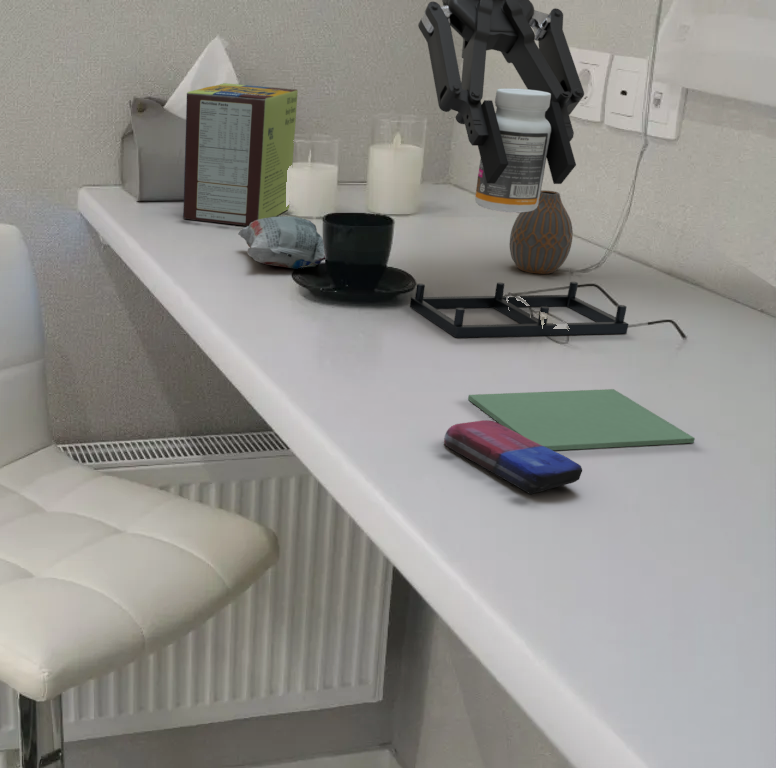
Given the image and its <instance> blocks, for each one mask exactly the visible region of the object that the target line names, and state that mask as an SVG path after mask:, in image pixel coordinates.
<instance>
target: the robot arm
mask: <svg viewBox="0 0 776 768" xmlns="http://www.w3.org/2000/svg"><path fill="white" fill-rule="evenodd" d="M441 1H442V6H441V5H440V3H438V2H437V1H430V2H429V3H428V4H427V6H426V8H425V10H424V12H423V14H422V16H421V18H420V19H419V22H418V25H417V27H418V29H419V31H420V32H421V34H422V36H423V37H424V39H425V41H426V43H427V48H428V54H429V60H430V65H431V70H432V71H431V72H432V75H433V82H434V87H435V93H436V98H437V103H438V107H439V110H440V111H442V112H444V113H449V112H450V111H454V112H457V113H456V114H455V120H456V122H457V123H458V124H460V125H464V126H465V131H466V134H467V139H468V142H469V143H470V144H471V146H477V148H478V152H479V156H480V160H481V161H482V165H483V169H484V173H485V177H486V181H487V183H495V182H496V181H497V180H498V178H499V177H500V175H501V174H502V172H503V171H504V170H505V168H506V167H507V165H508V161H507V157H506V153H505V149H504V145H503V141H502V137H501V133H500V129H499V125H498V121H497V117H496V110H495V106H494V102H493V100H489V99H488V100H487V99H484V100H483V102H482V99H483V97H484V85H485V84H484V83H485V72H486V58H487V51H491V50H493V51H497V52H500V53H501V54H502V56H503V58H504V59H505V62H506V63H507V64H512V66H513V67H514V69H515V71H516V72H517V74H518V75H519V77H520V79H521V80H522V82H523V84H524V86H525V88H526V89H528V90H537V91H543V92H548V93H550V94H551V99H550V106H549V108H548V109H547V111H545V118H546V120H548V122H549V123H550V126H551V135H550V141H549V147H548V152H547V158H546V161H547V164H548V168H549V172H550V176H551V180H552V183H553V185H562V184H563V182H564V181H565V180H566V179H567V178H568V176H569V175H570V174H571V172H572V171H573V170H574V168H576V167H577V163H576V160H575V156H574V152H573V149H572V144H571V141H572V140H573V138H574V134H575V131H574V129H573V124H572V120H571V118H570V115H571V114H572V112H573V111H574V110H575V109H576V107H577V106H578V104H579V103H580V102H581V101H582V99H583V98H584V96H585V91H584V88H583V85H582V82H581V79H580V76H579V73H578V71H577V68H576V65H575V61H574V59H573V56H572V53H571V49H570V47H569V45H568V44H569V43H568V41H567V38H566V36H565V35H566V34H565V32H564V29H563V27H564V12H563V11H562V10H561V9H559V8H557V7H556V8H552V9H551V10H550V11H549V14H548V13H545V12H542V11H538V10H535V7H534V4H533V3H532V2H531V0H441ZM452 29H453V30H454V31H455V32H456V33H457V34H458V35H459V36H461V38H462V49H461V59H462V71H461V74H460V69H459V64H458V59H457V53H456V48H455V42H454V37H453V31H452ZM536 41H537V42H538V45H537V43H536Z"/></svg>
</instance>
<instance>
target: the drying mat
mask: <svg viewBox="0 0 776 768" xmlns="http://www.w3.org/2000/svg"><path fill="white" fill-rule="evenodd" d="M467 396H468V397H467V400H468V401H470V402H471V403H472V404H473V405H475V406H476V407H478V409H480V410H481V411H482V412H483V413H485V414H486V415H487V416H488V417H490V418H492V419H493V421H495V422H497V423H499V424H501V425H503V426H505V427H507V428H509V429H510V430H512V431H514V432H516V433H518V434H520V435H522V436H524V437H526V438H528V439H530V440H532V441H534V442H536V443H538V444H540V445H542V446H544V447H547V448H549V449H551V450H553V451H570V450H588V449H606V448H623V447H625V448H626V447H642V446H643V447H645V446H657V445H658V446H661V445H663V446H664V445H678V444H680V445H682V444H694V443H695V439H696V438H695V437H694V436H692V435H691V434H689V433H687V432H685V431H684V430H682V429H680V428H679V427H677V426H675V425H674V424H672V423H670V422H669V421H667V420H665V419H664V418H662V417H660V415H658V414H656V413H654V412H652V411H651V410H649V409H647V408H646V407H644V406H642V405H641V404H639V403H638V402H636V401H634V400H633V399H631V398H629V397H627V396H626V395H624V394H622V393H621V392H619V391H618V390H616V389H614V388H608V389H607V388H605V389H585V390H583V389H582V390H581V389H579V390H557V391H555V390H554V391H533V392H532V391H530V392H528V391H527V392H512V393H511V392H508V393H507V392H506V393H482V394H481V393H479V394H468V395H467Z"/></svg>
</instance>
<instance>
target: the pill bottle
mask: <svg viewBox="0 0 776 768" xmlns="http://www.w3.org/2000/svg"><path fill="white" fill-rule="evenodd" d="M550 99H551V94H550V93H548V92H543V91H537V90H528V89H527V88H511V87H510V88H507V87H506V88H498V89H496V92H495V99H494V103H495V104H494V105H495V106H494V107H496V110H495V113H496V117H497V121H498V125H499V129H500V133H501V137H502V141H503V145H504V149H505V153H506V157H507V161H508V165H507V167H506V168H505V170H504V171H503V172H502V174H501V175H500V177H499V178H498V180H497V181H496V182H495V183H487V181H486V177H485V173H484V169H483V165H482V161H481V159H480V160H479V167H478V173H477V181H476V189H475V195H474V201H475V203H476V205H477V206H478V207H480V208H483V209H486V210H490V211H494V212H495V211H496V212H505V213H521V212H529V211H533V210H535V209H536V208H537V206H538V203H539V199H540V193H541V191H542V187H543V182H544V181H543V180H544V176H545V169H546V163H547V162H546V161H547V152H548V147H549V141H550V135H551V126H550V123H549V122H548V120H546V118H545V111H547V109H548V108H549V106H550Z"/></svg>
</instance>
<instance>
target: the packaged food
mask: <svg viewBox="0 0 776 768" xmlns="http://www.w3.org/2000/svg"><path fill="white" fill-rule="evenodd" d="M237 235H238V236H240V238H242V239H244V240H245V242H246V243H245V244H246V245H247V246H248V248H247V255H248V256H249V257H250V258H252V259H253V260H254V261H255V262H258V263H260V264H263V265H268V266H274V267H281V268H288V269H294V270H295V269H296V270H299V269H298V268H301V269H302V267H300V266H304V265H312V264H319V265H320V264H321V263H322V261H325V260H326V258H325V254H324V246H325V243H324V244H323V242H324V239H323V237H322V235H320V233H319V232H318V230H317V226H316V224H314V222H312V221H311V220H308V219H306V218H302V217H298V216H292V215H291V216H290V215H289V216H288V215H284V216H282V215H281V216H279V215H278V216H276V217H270V218H263V219H259V220H255V221H254V222H251V223H250V225H249V226H245V227H243V228H242V229H239V232H238V233H237ZM301 269H300V270H301Z"/></svg>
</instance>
